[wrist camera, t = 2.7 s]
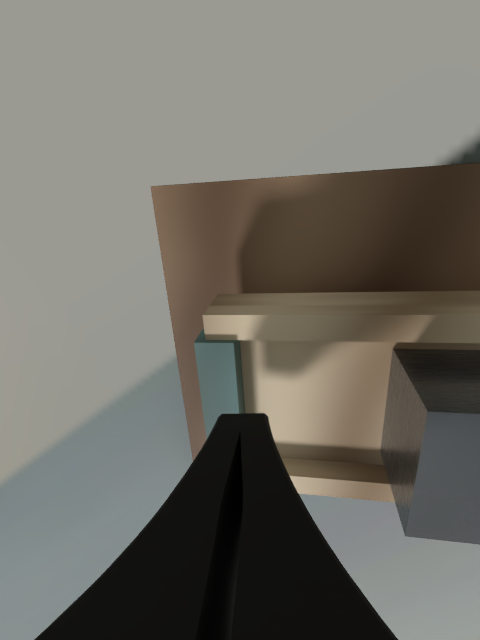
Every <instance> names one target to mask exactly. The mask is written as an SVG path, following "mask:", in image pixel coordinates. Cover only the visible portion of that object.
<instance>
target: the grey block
mask: <svg viewBox="0 0 480 640" xmlns="http://www.w3.org/2000/svg"><path fill="white" fill-rule="evenodd" d="M380 453H381V456H382V460H383V463H384V466H385V470H386V473H387V476H388V480H389V483H390V486H391V490H392V493H393V497H394V500H395V503H396V507H397V510H398V513H399V517H400V520H401V523H402V527H403V530H404V533H405V536H408V537H417V538H426V539H435V540H445V541H454V542H463V543H472V544H480V350H454V349H392V358H391V366H390V374H389V382H388V391H387V399H386V407H385V415H384V424H383V432H382V440H381V449H380Z"/></svg>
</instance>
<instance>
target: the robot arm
mask: <svg viewBox="0 0 480 640" xmlns="http://www.w3.org/2000/svg"><path fill="white" fill-rule="evenodd" d="M35 640H398V639H397V638H396V636H395V635H394V634H393V633H392V631H391V630H390V629H389V628H388V626H387V625H386V624H385V623H384V621H383V620H382V619H381V617H380V616H379V615H378V613H377V612H376V611H375V609H374V608H373V607H372V605H371V604H370V602H369V601H368V600H367V598H366V597H365V596H364V594H363V593H362V592H361V590H360V589H359V587H358V586H357V585H356V583H355V582H354V581H353V579H352V578H351V577H350V575H349V574H348V573H347V571H346V570H345V568H344V567H343V565H342V564H341V562H340V561H339V559H338V558H337V556H336V555H335V553H334V552H333V550H332V549H331V547H330V546H329V544H328V543H327V541H326V540H325V538H324V537H323V535H322V533H321V532H320V530H319V529H318V527H317V525H316V524H315V522H314V520H313V519H312V517H311V515H310V514H309V512H308V510H307V508H306V507H305V505H304V503H303V501H302V499H301V497H300V496H299V494H298V492H297V490H296V488H295V486H294V484H293V482H292V480H291V478H290V476H289V474H288V472H287V470H286V467H285V465H284V463H283V461H282V459H281V456H280V454H279V452H278V449H277V447H276V444H275V441H274V438H273V435H272V432H271V428H270V424H269V419H268V416H267V415H266V414H265V413H238V414H221V415H220V416H219V417H218V419H217V421H216V423H215V425H214V427H213V429H212V431H211V433H210V434H209V436H208V438H207V440H206V441H205V443H204V445H203V447H202V448H201V450H200V451H199V453H198V455H197V456H196V458H195V459H194V461H193V463H192V464H191V466H190V467H189V469H188V470H187V472H186V473H185V475H184V476H183V478H182V479H181V480H180V482H179V483H178V485H177V486H176V487H175V489H174V490H173V492H172V493H171V494H170V496H169V497H168V499H167V500H166V501H165V503H164V504H163V505H162V506H161V508H160V509H159V510H158V512H157V513H156V514H155V515H154V517H153V518H152V519H151V520H150V522H149V523H148V524H147V525H146V526H145V527H144V529H143V530H142V531H141V532H140V533H139V535H138V536H137V537H136V538H135V539H134V540H133V542H132V543H131V544H130V545H129V546H128V547H127V548H126V549H125V550H124V551H123V553H122V554H121V555H120V556H119V557H118V558H117V559H116V560H115V561H114V562H113V563H112V565H111V566H110V567H109V568H108V569H107V570H106V571H105V572H104V573H103V574H102V575H101V576H100V577H99V578H98V579H97V580H96V581H95V582H94V583H93V584H92V585H91V586H90V587H89V588H88V589H87V590H86V591H85V592H84V593H83V594H82V595H81V596H80V597H79V598H78V599H77V600H76V601H75V602H74V603H73V604H72V605H71V606H69V607H68V608H67V609H66V610H65V611H64V612H63V613H62V614H61V615H60V616H59V617H58V618H57V619H56V620H55V621H54V622H53V623H52V624H51V625H50V626H49V627H48V628H47V629H46V630H44V631H43V632H42V633H41V634H40V635H39V636H38V637H37V638H36V639H35Z"/></svg>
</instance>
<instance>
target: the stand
mask: <svg viewBox="0 0 480 640" xmlns="http://www.w3.org/2000/svg"><path fill="white" fill-rule="evenodd" d="M151 192H152V198H153V204H154V211H155V218H156V225H157V231H158V237H159V243H160V250H161V256H162V263H163V270H164V276H165V283H166V289H167V295H168V302H169V308H170V315H171V322H172V328H173V334H174V341H175V347H176V354H177V360H178V367H179V373H180V380H181V386H182V393H183V399H184V406H185V412H186V418H187V425H188V431H189V438H190V444H191V451H192V457H193V461H194V459H195V458H196V456H197V455H198V453H199V451H200V450H201V448H202V447H203V445H204V443H205V441H206V440H207V439H206V432H205V424H204V416H203V409H202V401H201V393H200V386H199V378H198V370H197V363H196V355H195V347H194V342H195V340H196V339H197V337H198V335H199V334H200V332H201V331H202V329H204V324H203V314H204V312H205V311H206V310H207V308H208V307H209V305H210V304H211V303H212V301H213V300H214V299H215V297H216V296H217V294H250V293H333V292H416V291H480V163H470V164H456V165H442V166H428V167H414V168H400V169H387V170H373V171H360V172H345V173H331V174H318V175H303V176H289V177H275V178H261V179H248V180H233V181H219V182H205V183H193V184H192V183H191V184H179V185H178V184H177V185H163V186H152V187H151Z"/></svg>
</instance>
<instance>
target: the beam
mask: <svg viewBox="0 0 480 640" xmlns="http://www.w3.org/2000/svg"><path fill="white" fill-rule="evenodd" d="M203 324H204V329H202V331H201V332H200V334H199V335H198V337H197V339H196V340H195V342H194V347H195V355H196V363H197V370H198V378H199V386H200V393H201V401H202V409H203V416H204V424H205V432H206V439H207V438H208V436H209V434H210V433H211V431H212V429H213V427H214V425H215V423H216V421H217V419H218V417H219V416H220V415H221V414H238V413H265V414H266V415H267V416H268V419H269V424H270V428H271V432H272V435H273V438H274V441H275V444H276V447H277V449H278V452H279V454H280V456H281V459H282V461H283V463H284V465H285V467H286V470H287V472H288V474H289V476H290V478H291V480H292V482H293V484H294V486H295V488H296V490H297V492H298V493H300V494H311V495H321V496H332V497H343V498H354V499H364V500H375V501H386V502H395V500H394V497H393V493H392V490H391V486H390V483H389V480H388V476H387V473H386V470H385V466H384V463H383V460H382V456H381V453H380V449H381V440H382V432H383V424H384V415H385V407H386V399H387V391H388V382H389V374H390V366H391V358H392V349H454V350H480V291H416V292H333V293H250V294H217V296H216V297H215V299H214V300H213V301H212V303H211V304H210V305H209V307H208V308H207V310H206V311H205V312H204V314H203Z"/></svg>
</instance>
